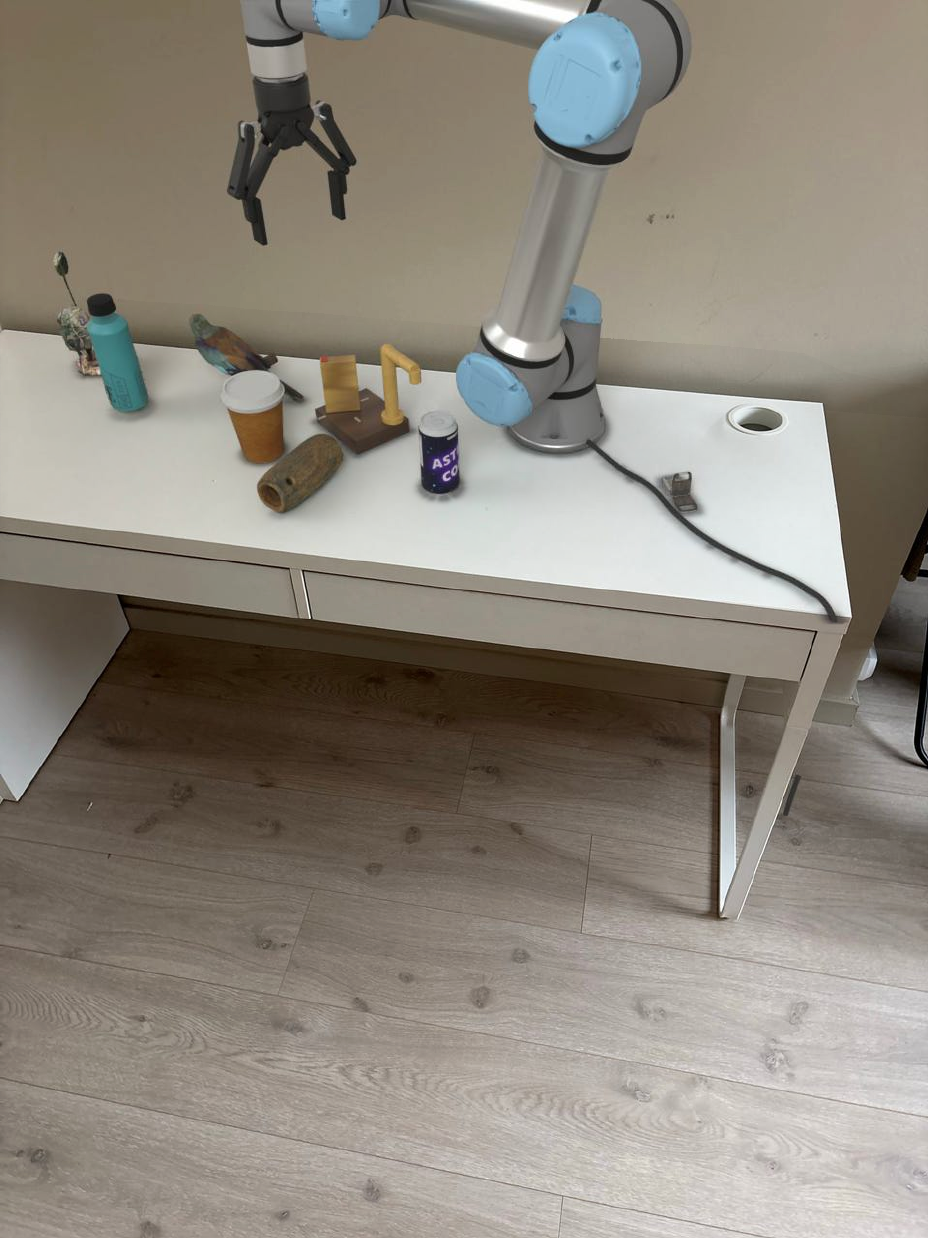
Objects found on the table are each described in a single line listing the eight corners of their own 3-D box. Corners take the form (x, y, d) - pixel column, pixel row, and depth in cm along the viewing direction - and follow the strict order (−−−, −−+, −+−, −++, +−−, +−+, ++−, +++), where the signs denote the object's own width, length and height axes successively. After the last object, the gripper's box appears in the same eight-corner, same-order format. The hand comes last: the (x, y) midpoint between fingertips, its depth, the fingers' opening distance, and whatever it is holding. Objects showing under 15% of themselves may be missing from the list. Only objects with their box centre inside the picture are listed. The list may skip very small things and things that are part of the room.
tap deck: (409, 431, 164) (408, 417, 162) (350, 457, 159) (348, 443, 157) (361, 396, 172) (360, 382, 170) (303, 419, 167) (301, 405, 165)
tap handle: (360, 404, 165) (354, 352, 159) (360, 410, 164) (355, 358, 158) (326, 407, 165) (319, 355, 159) (326, 413, 164) (319, 361, 157)
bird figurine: (321, 382, 174) (252, 277, 165) (291, 413, 167) (217, 305, 159) (271, 403, 182) (203, 304, 173) (240, 432, 176) (168, 331, 167)
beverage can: (432, 503, 150) (428, 434, 142) (415, 482, 154) (411, 414, 146) (466, 491, 152) (464, 423, 144) (448, 472, 156) (446, 404, 148)
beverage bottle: (160, 405, 171) (130, 293, 157) (131, 424, 167) (98, 311, 153) (132, 394, 174) (100, 283, 160) (103, 413, 170) (68, 300, 156)
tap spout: (431, 436, 158) (427, 361, 149) (412, 445, 157) (407, 369, 148) (395, 410, 164) (390, 336, 155) (377, 418, 162) (370, 343, 153)
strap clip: (659, 480, 153) (662, 456, 150) (679, 477, 154) (682, 454, 151) (678, 514, 147) (682, 491, 144) (699, 511, 148) (703, 488, 145)
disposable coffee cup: (282, 472, 157) (270, 405, 148) (224, 466, 158) (209, 398, 150) (302, 437, 163) (291, 371, 155) (245, 432, 165) (232, 365, 156)
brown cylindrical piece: (298, 523, 148) (291, 486, 143) (257, 511, 150) (249, 474, 145) (349, 467, 157) (345, 431, 153) (310, 457, 159) (305, 420, 155)
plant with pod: (58, 380, 177) (21, 270, 163) (91, 348, 185) (58, 240, 171) (100, 386, 176) (67, 275, 162) (132, 353, 184) (102, 245, 170)
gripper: (342, 49, 145) (356, 199, 160) (183, 87, 134) (214, 244, 149) (371, 61, 141) (383, 214, 155) (209, 101, 130) (239, 261, 145)
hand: (300, 229), depth 152 cm, fingers open, 13 cm apart
